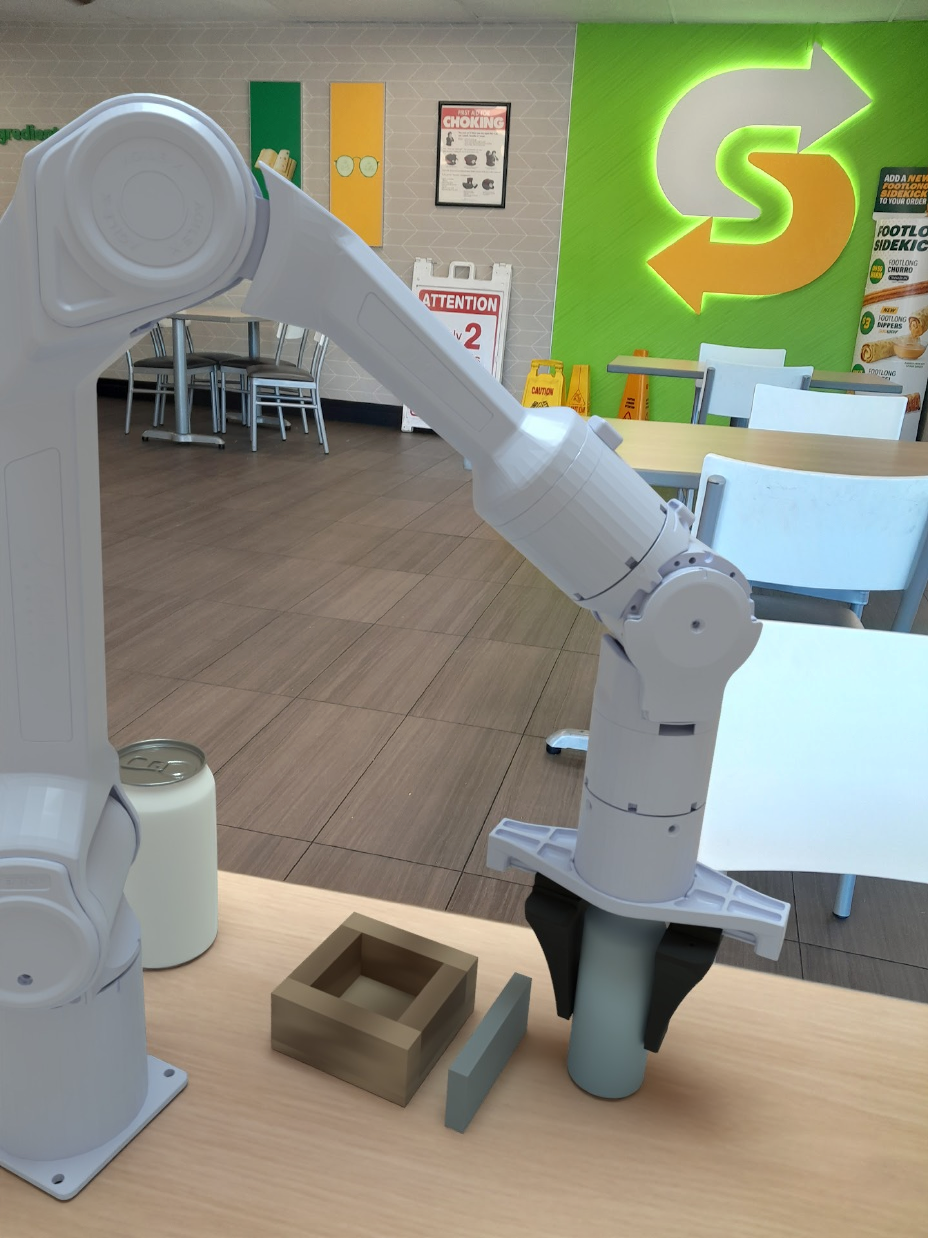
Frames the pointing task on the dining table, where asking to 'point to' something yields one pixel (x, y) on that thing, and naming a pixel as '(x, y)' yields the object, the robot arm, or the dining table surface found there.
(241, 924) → the dining table surface
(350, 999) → the frame
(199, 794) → the can
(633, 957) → the dowel
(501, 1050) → the backstop wall
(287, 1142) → the dining table surface
